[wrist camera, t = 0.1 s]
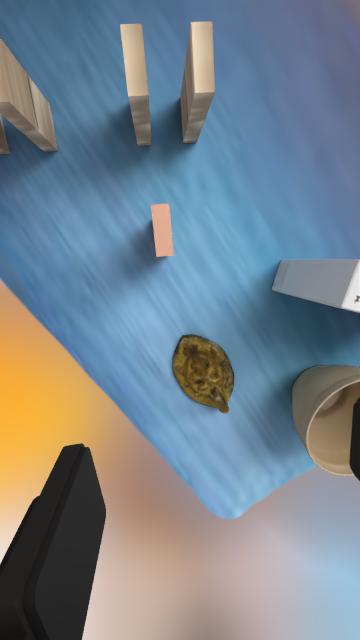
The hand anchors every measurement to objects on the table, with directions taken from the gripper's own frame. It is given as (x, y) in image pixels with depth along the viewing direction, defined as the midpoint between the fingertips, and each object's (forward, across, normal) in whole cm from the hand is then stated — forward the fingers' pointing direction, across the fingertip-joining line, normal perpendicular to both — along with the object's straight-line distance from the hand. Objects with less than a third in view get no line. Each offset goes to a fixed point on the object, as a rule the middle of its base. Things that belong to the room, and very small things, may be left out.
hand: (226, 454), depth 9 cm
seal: (+32, -3, +13) cm, 35 cm away
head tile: (+31, -5, -23) cm, 39 cm away
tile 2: (+31, +1, -23) cm, 39 cm away
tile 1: (+31, +13, -24) cm, 41 cm away
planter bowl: (+31, -23, +20) cm, 44 cm away
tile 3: (+31, +1, -9) cm, 32 cm away
